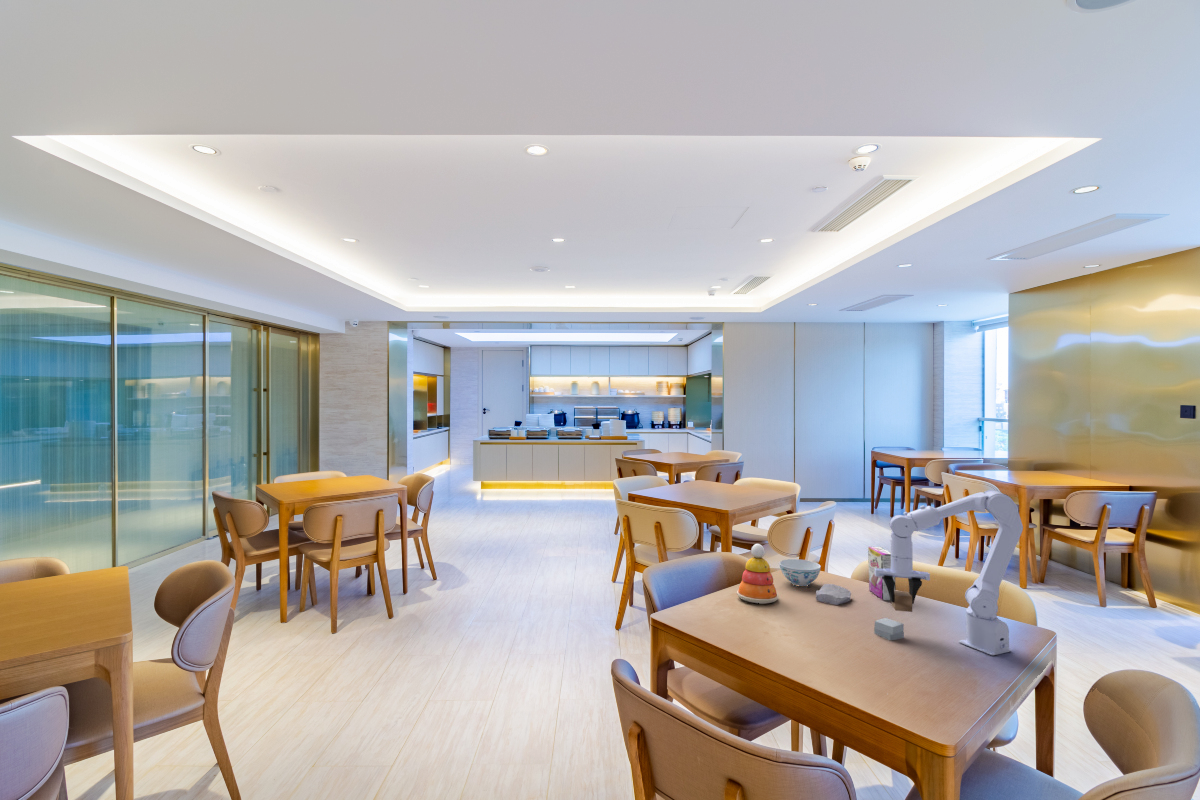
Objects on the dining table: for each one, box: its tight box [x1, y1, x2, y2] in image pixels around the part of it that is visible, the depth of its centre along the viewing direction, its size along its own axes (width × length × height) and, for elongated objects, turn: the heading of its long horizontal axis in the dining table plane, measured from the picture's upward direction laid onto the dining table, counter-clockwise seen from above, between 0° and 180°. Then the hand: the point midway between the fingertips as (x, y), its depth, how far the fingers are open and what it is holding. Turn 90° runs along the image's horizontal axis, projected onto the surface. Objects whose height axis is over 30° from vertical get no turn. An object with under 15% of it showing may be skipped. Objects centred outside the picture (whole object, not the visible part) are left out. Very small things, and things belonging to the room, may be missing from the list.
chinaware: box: [778, 558, 822, 586], centre depth 212 cm, size 15×15×8 cm
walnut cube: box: [891, 590, 913, 613], centre depth 164 cm, size 4×4×4 cm
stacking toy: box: [736, 543, 779, 605], centre depth 195 cm, size 14×14×20 cm
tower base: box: [873, 627, 905, 642], centre depth 162 cm, size 6×6×2 cm
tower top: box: [874, 617, 905, 635], centre depth 162 cm, size 6×6×2 cm
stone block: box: [815, 583, 852, 606], centre depth 194 cm, size 12×5×10 cm
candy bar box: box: [867, 546, 897, 602], centre depth 198 cm, size 11×5×16 cm, turn 178°
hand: (901, 602), depth 163 cm, fingers closed on walnut cube, 5 cm apart
